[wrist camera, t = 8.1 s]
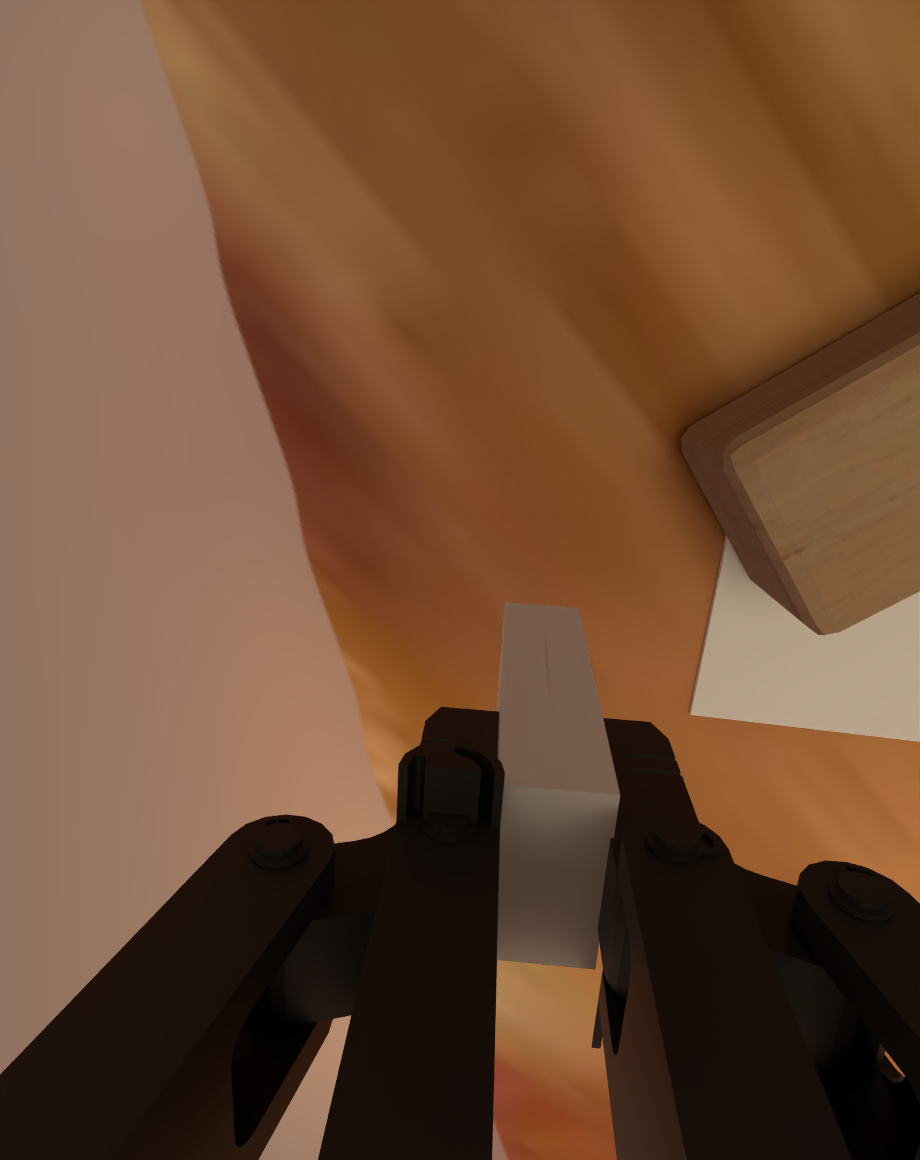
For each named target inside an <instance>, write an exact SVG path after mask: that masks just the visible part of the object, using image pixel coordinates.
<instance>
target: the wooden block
mask: <svg viewBox="0 0 920 1160" xmlns="http://www.w3.org/2000/svg"><path fill="white" fill-rule="evenodd" d="M681 448H682V454H683V455H684V457H685V459H686V461H687V463H688V465H689V467H690V468H691V470H692V472H693V474H694V476H695V478H696V480H697V482H698V483H699V485H700V487H701V489H702V491H703V493H704V495H705V496H706V498H707V500H708V502H709V504H710V506H711V508H712V509H713V511H714V513H715V515H716V517H717V519H718V521H719V523H720V524H721V526H722V528H723V530H724V532H725V534H726V536H727V537H728V539H729V541H730V543H731V545H732V547H733V549H734V550H735V552H736V554H737V556H738V558H739V560H740V562H741V564H742V565H743V567H744V569H745V571H746V573H747V575H748V577H749V578H750V580H751V581H753V582H754V583H755V584H756V585H757V586H759V587H760V588H761V589H762V590H763V591H765V592H766V593H767V594H768V595H769V596H771V597H772V598H773V599H774V600H775V601H777V602H778V603H779V604H780V605H781V606H783V607H784V608H785V609H786V610H787V611H789V612H790V613H791V614H792V615H794V616H795V617H796V618H797V619H798V620H800V621H801V622H802V623H803V624H804V625H806V626H807V627H808V628H810V629H811V630H812V631H814V632H815V633H816V634H817V635H828V634H834V633H839V632H841V631H843V630H845V629H847V628H849V627H851V626H853V625H855V624H857V623H859V622H861V621H863V620H865V619H867V618H869V617H870V616H872V615H874V614H876V613H878V612H880V611H882V610H884V609H886V608H888V607H890V606H892V605H894V604H896V603H898V602H900V601H902V600H904V599H906V598H908V597H910V596H912V595H914V594H916V593H918V592H920V293H919V294H917V295H915V296H913V297H912V298H910V299H908V300H906V301H905V302H903V303H901V304H900V305H898V306H896V307H894V308H893V309H891V310H889V311H888V312H886V313H884V314H882V315H881V316H879V317H877V318H875V319H874V320H872V321H870V322H869V323H867V324H865V325H863V326H862V327H860V328H858V329H856V330H855V331H853V332H851V333H850V334H848V335H846V336H844V337H843V338H841V339H839V340H838V341H836V342H834V343H832V344H831V345H829V346H827V347H825V348H824V349H822V350H820V351H819V352H817V353H815V354H813V355H812V356H810V357H808V358H807V359H805V360H803V361H801V362H800V363H798V364H796V365H794V366H793V367H791V368H789V369H788V370H786V371H784V372H782V373H781V374H779V375H777V376H775V377H774V378H772V379H770V380H769V381H767V382H765V383H763V384H762V385H760V386H758V387H757V388H755V389H753V390H751V391H750V392H748V393H746V394H744V395H743V396H741V397H739V398H738V399H736V400H734V401H732V402H731V403H729V404H727V405H725V406H724V407H722V408H720V409H719V410H717V411H715V412H713V413H712V414H710V415H708V416H707V417H705V418H703V419H701V420H700V421H698V422H696V423H694V424H693V425H691V426H690V427H689V428H688V429H687V431H686V432H685V433H684V434H683V436H682V437H681Z"/></svg>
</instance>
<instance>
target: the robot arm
mask: <svg viewBox="0 0 920 1160" xmlns="http://www.w3.org/2000/svg"><path fill="white" fill-rule="evenodd" d="M599 942H600V950H601V957H602V965H603V972H602V978H601V985H600V992H599V999H598V1006H597V1012H596V1019H595V1026H594V1033H593V1041H592V1048H600V1047H601V1041H602V1037H603V1045H604V1054H605V1062H606V1071H607V1079H608V1088H609V1096H610V1104H611V1113H612V1121H613V1130H614V1138H615V1147H616V1155H617V1160H920V903H918V902H917V901H916V900H915V899H914V898H913V897H912V896H911V895H910V894H909V893H908V892H907V891H905V890H904V889H903V888H901V887H900V886H899V885H898V884H896V883H895V882H894V881H893V880H891V879H889V878H887V877H885V876H883V875H881V874H879V873H877V872H875V871H873V870H871V869H869V868H866V867H863V866H860V865H859V866H858V865H856V864H851V863H848V862H838V861H822V862H818V863H814V864H810V865H808V866H807V867H806V868H805V869H804V870H803V871H802V872H801V873H800V875H799V880H798V884H797V886H796V885H793V884H789V883H786V882H783V881H779V880H776V879H773V878H769V877H766V876H763V875H760V874H757V873H754V872H752V871H749V870H746V869H744V868H742V867H740V866H738V865H737V864H735V863H734V862H733V859H732V857H731V854H730V852H729V849H728V848H727V846H726V845H725V843H724V842H723V841H722V839H721V838H720V836H718V835H717V834H716V833H714V832H713V831H712V830H710V829H709V828H708V827H706V826H705V825H703V824H701V823H699V821H698V818H697V816H696V813H695V810H694V808H693V805H692V802H691V799H690V797H689V794H688V791H687V788H686V786H685V783H684V780H683V777H682V776H680V769H679V766H678V764H677V761H675V755H674V753H673V750H672V747H671V745H670V742H669V739H668V738H667V737H666V736H665V735H664V734H663V733H662V732H660V731H659V730H658V729H657V728H656V727H655V726H654V725H653V724H652V723H651V722H644V721H632V720H620V719H607V718H603V715H602V711H601V706H600V702H599V697H598V693H597V688H596V684H595V679H594V674H593V670H592V665H591V661H590V656H589V652H588V647H587V643H586V638H585V634H584V629H583V625H582V620H581V616H580V611H579V608H573V607H560V606H547V605H534V604H521V603H508V602H505V609H504V621H503V633H502V646H501V658H500V671H499V683H498V695H497V708H496V711H485V710H472V709H460V708H448V707H440V708H439V709H438V710H437V711H436V712H435V713H434V714H433V715H431V716H430V717H429V718H428V719H427V720H426V721H425V726H424V730H423V735H422V741H421V744H420V745H419V746H417V747H416V748H414V749H412V750H410V751H409V752H407V753H405V755H404V756H403V758H402V760H401V761H400V763H399V768H398V795H397V821H396V824H395V825H394V826H393V827H391V828H390V829H388V830H387V831H385V832H383V833H381V834H378V835H376V836H373V837H371V838H367V839H362V840H357V841H351V842H343V843H336V844H334V841H333V836H332V834H331V833H330V832H329V831H328V830H327V829H326V828H325V827H324V825H322V824H321V823H319V822H317V821H314V820H312V819H309V818H307V817H302V816H294V815H278V816H271V817H264V818H261V819H259V820H256V821H253V822H251V823H248V824H245V825H244V826H243V827H241V828H240V829H239V830H237V831H236V832H234V833H233V834H232V835H231V836H230V837H229V838H228V839H227V840H226V841H225V842H224V843H223V844H222V845H221V846H220V847H219V848H218V849H217V850H216V851H215V852H214V853H213V854H212V855H211V856H210V857H209V858H208V859H207V860H206V861H205V863H204V864H203V865H202V866H201V867H200V868H199V869H198V870H197V871H196V872H195V873H194V874H193V875H192V876H191V877H190V878H189V879H188V880H187V881H186V882H185V883H184V884H183V885H182V886H181V888H179V890H178V891H177V892H176V893H175V894H174V895H173V896H172V897H171V898H170V899H169V900H168V901H167V902H166V903H165V904H164V905H163V906H162V907H161V908H160V909H159V910H158V911H157V912H156V913H155V915H154V916H153V917H152V918H151V919H150V920H149V921H148V922H147V923H146V924H145V925H144V926H143V927H142V928H141V929H140V930H139V931H138V932H137V933H136V934H135V935H134V936H133V937H132V938H131V939H130V941H128V942H127V943H126V945H125V946H124V947H123V948H122V949H121V950H120V951H119V952H118V953H117V954H116V955H115V956H114V957H113V958H112V959H111V960H110V961H109V962H108V963H107V964H106V965H105V966H104V967H103V968H102V969H101V970H100V972H99V973H98V974H97V975H96V976H95V977H94V978H93V979H92V980H91V981H90V982H89V983H88V984H87V985H86V986H85V987H84V988H83V989H82V990H81V991H80V992H79V993H78V994H77V995H76V996H75V997H74V999H73V1000H72V1001H71V1002H70V1003H69V1004H68V1005H67V1006H66V1007H65V1008H64V1009H63V1010H62V1011H61V1012H60V1013H59V1014H58V1015H57V1016H56V1017H55V1018H54V1019H53V1020H52V1021H51V1022H50V1023H49V1024H48V1026H47V1027H46V1028H45V1029H44V1030H43V1031H42V1032H41V1033H40V1034H39V1035H38V1036H37V1037H36V1038H35V1039H34V1040H33V1041H32V1042H31V1043H30V1044H29V1045H28V1046H27V1047H26V1048H25V1049H24V1050H23V1052H22V1053H21V1054H20V1055H19V1056H18V1057H17V1058H16V1059H15V1060H14V1061H13V1062H12V1063H11V1064H10V1065H9V1066H8V1067H7V1068H6V1069H5V1070H4V1071H3V1072H2V1074H0V1160H259V1158H260V1156H261V1154H262V1152H263V1151H264V1148H265V1147H266V1145H267V1143H268V1141H269V1139H270V1138H271V1136H272V1134H273V1133H274V1131H275V1129H276V1127H277V1125H278V1123H279V1122H280V1120H281V1118H282V1116H283V1114H284V1113H285V1111H286V1109H287V1107H288V1105H289V1104H290V1102H291V1100H292V1098H293V1096H294V1095H295V1093H296V1091H297V1089H298V1087H299V1085H300V1084H301V1082H302V1080H303V1078H304V1076H305V1075H306V1073H307V1071H308V1069H309V1067H310V1066H311V1064H312V1062H313V1060H314V1058H315V1056H316V1055H317V1053H318V1051H319V1049H320V1047H321V1046H322V1044H323V1042H324V1040H325V1038H326V1037H327V1035H328V1033H329V1030H330V1027H331V1023H332V1020H333V1019H334V1018H339V1017H345V1016H350V1015H351V1019H350V1024H349V1028H348V1033H347V1037H346V1041H345V1046H344V1050H343V1054H342V1059H341V1063H340V1067H339V1071H338V1076H337V1080H336V1084H335V1089H334V1093H333V1097H332V1102H331V1106H330V1111H329V1114H328V1119H327V1123H326V1127H325V1132H324V1136H323V1140H322V1145H321V1149H320V1153H319V1158H318V1160H492V1139H493V1099H494V1058H495V1018H496V977H497V960H504V961H514V962H525V963H535V964H545V965H555V966H566V967H576V968H586V969H595V967H596V960H597V953H598V946H599ZM885 1051H887V1053H888V1054H889V1055H890V1057H891V1058H892V1059H893V1061H894V1062H895V1063H896V1065H897V1066H898V1067H899V1069H900V1070H901V1071H902V1072H903V1074H904V1075H905V1077H903V1076H902V1075H901V1074H900V1073H899V1072H898V1071H897V1070H896V1069H895V1067H894V1066H893V1065H892V1063H891V1062H890V1061H889V1060H888V1058H887V1057H886V1056H885Z"/></svg>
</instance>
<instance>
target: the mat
mask: <svg viewBox="0 0 920 1160" xmlns="http://www.w3.org/2000/svg"><path fill="white" fill-rule="evenodd" d="M689 713H690V715H697V716H705V717H714V718H722V719H731V720H739V721H748V722H756V723H765V724H773V725H782V726H791V727H799V728H808V729H816V730H825V731H833V732H842V733H850V734H859V735H867V736H876V737H884V738H893V739H902V740H910V741H919V742H920V592H918V593H916V594H914V595H912V596H910V597H908V598H906V599H904V600H902V601H900V602H898V603H896V604H894V605H892V606H890V607H888V608H886V609H884V610H882V611H880V612H878V613H876V614H874V615H872V616H870V617H869V618H867V619H865V620H863V621H861V622H859V623H857V624H855V625H853V626H851V627H849V628H847V629H845V630H843V631H841V632H839V633H834V634H828V635H817V634H816V633H815V632H814V631H812V630H811V629H810V628H808V627H807V626H806V625H804V624H803V623H802V622H801V621H800V620H798V619H797V618H796V617H795V616H794V615H792V614H791V613H790V612H789V611H787V610H786V609H785V608H784V607H783V606H781V605H780V604H779V603H778V602H777V601H775V600H774V599H773V598H772V597H771V596H769V595H768V594H767V593H766V592H765V591H763V590H762V589H761V588H760V587H759V586H757V585H756V584H755V583H754V582H753V581H751V580H750V578H749V577H748V575H747V573H746V571H745V569H744V567H743V565H742V564H741V562H740V560H739V558H738V556H737V554H736V552H735V550H734V549H733V547H732V545H731V543H730V541H729V539H728V537H727V536H726V537H725V542H724V547H723V551H722V556H721V561H720V566H719V571H718V575H717V580H716V585H715V590H714V594H713V599H712V604H711V609H710V614H709V618H708V623H707V628H706V633H705V637H704V642H703V647H702V652H701V657H700V661H699V666H698V671H697V676H696V680H695V685H694V690H693V695H692V700H691V704H690V709H689Z"/></svg>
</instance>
